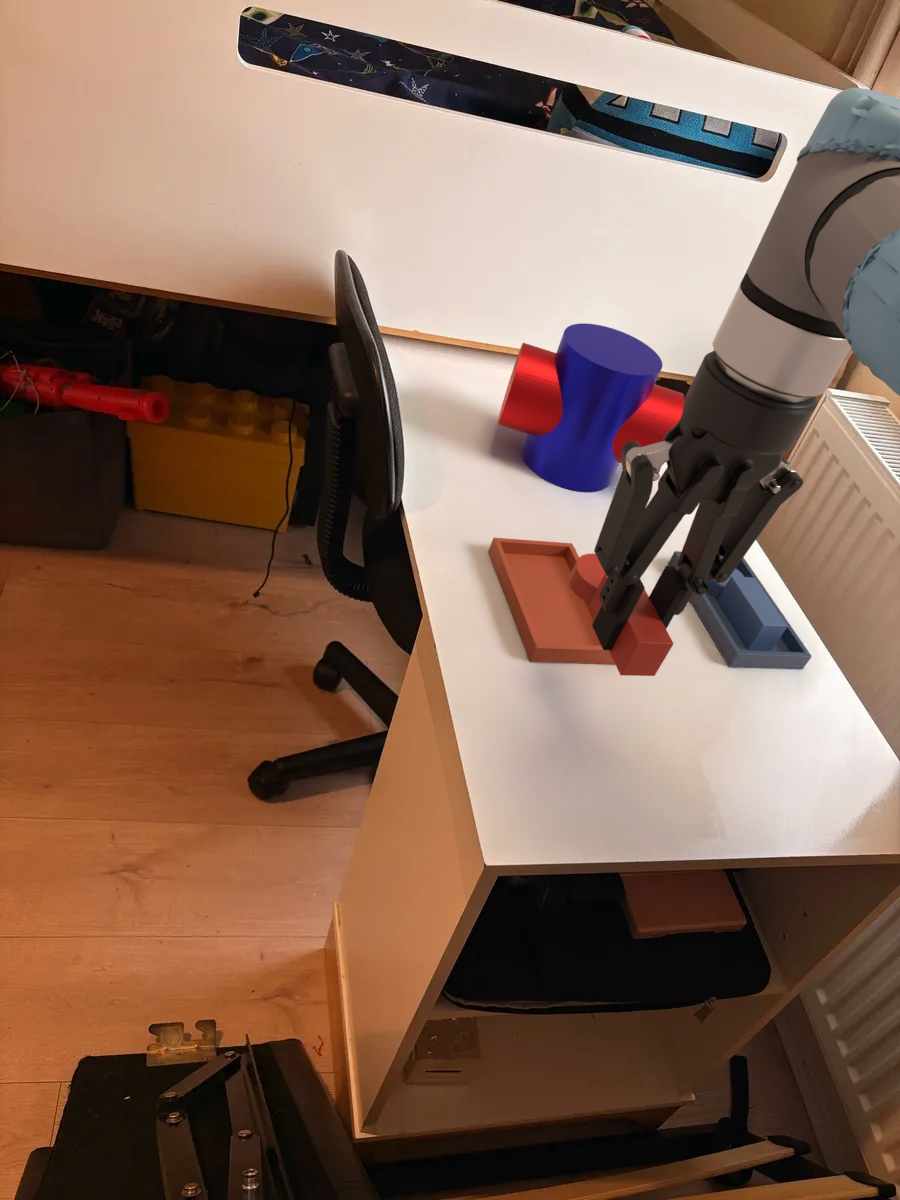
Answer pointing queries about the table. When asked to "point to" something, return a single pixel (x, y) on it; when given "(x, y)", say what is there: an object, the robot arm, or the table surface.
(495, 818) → the table surface
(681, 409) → the blue red crossed cylinders
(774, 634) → the blue spoon
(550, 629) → the red tray
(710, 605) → the blue tray
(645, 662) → the red spoon
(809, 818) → the table surface
